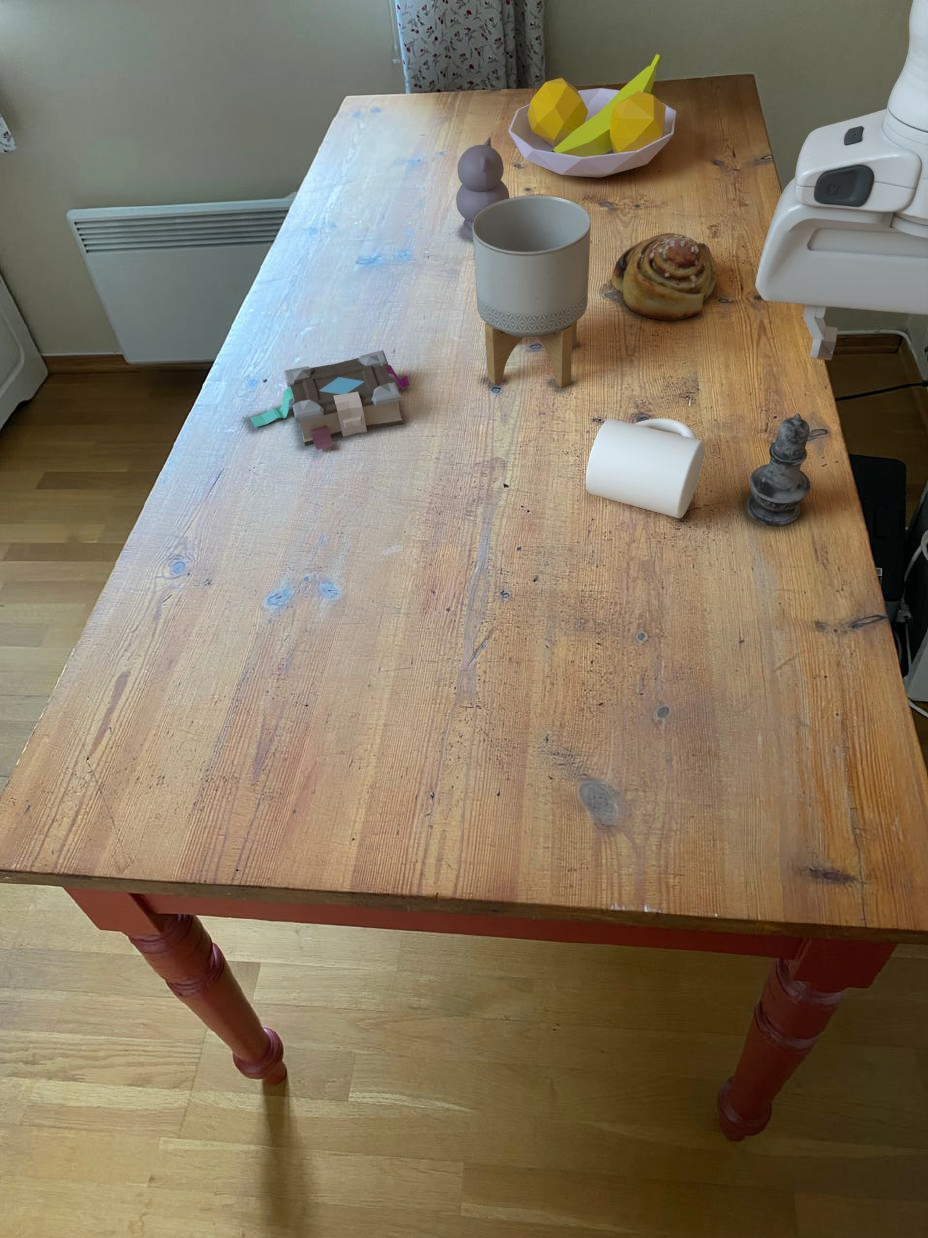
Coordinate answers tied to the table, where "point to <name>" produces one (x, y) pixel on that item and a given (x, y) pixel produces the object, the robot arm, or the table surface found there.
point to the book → (340, 398)
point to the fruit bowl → (593, 127)
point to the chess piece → (781, 477)
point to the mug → (646, 464)
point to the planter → (531, 277)
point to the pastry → (666, 276)
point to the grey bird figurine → (479, 183)
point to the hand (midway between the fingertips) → (890, 361)
